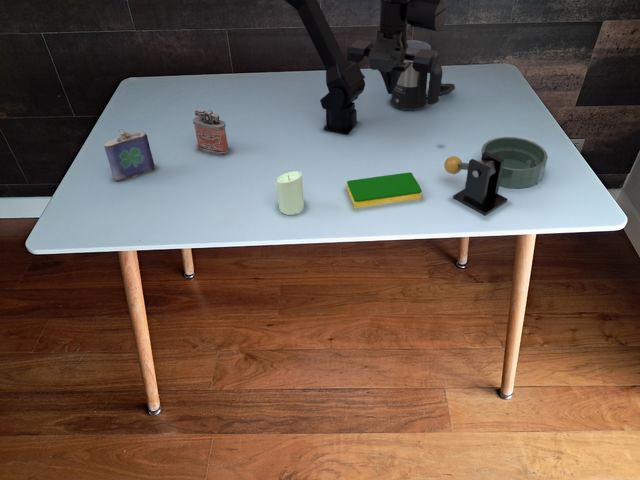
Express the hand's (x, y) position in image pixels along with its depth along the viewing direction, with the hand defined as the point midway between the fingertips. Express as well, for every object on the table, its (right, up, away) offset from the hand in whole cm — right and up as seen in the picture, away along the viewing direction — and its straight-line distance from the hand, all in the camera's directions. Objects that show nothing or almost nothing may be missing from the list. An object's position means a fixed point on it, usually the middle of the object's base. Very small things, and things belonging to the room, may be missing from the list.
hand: (390, 93), depth 129 cm
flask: (-57, -18, +1) cm, 59 cm away
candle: (-21, -26, -11) cm, 35 cm away
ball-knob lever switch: (+16, -25, -12) cm, 32 cm away
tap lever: (+14, -19, -13) cm, 27 cm away
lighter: (-40, -12, +7) cm, 42 cm away
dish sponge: (-2, -23, -9) cm, 25 cm away
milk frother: (+11, +4, +23) cm, 26 cm away
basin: (+25, -18, -4) cm, 31 cm away
